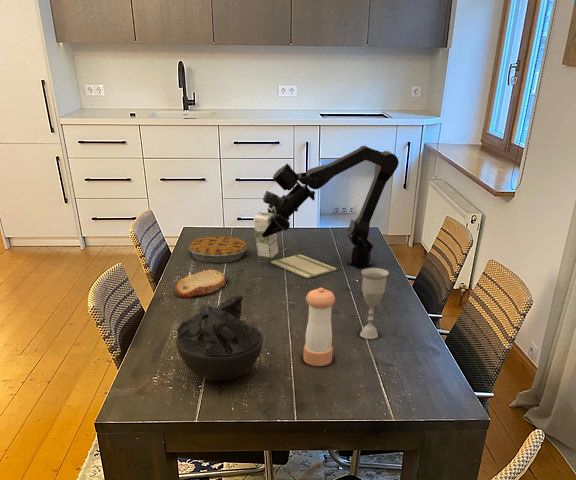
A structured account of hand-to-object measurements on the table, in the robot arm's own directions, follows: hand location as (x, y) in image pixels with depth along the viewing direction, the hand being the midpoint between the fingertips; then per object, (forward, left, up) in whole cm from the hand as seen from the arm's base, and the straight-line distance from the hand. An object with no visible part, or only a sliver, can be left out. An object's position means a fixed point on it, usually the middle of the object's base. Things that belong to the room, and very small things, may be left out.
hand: (261, 233), depth 203 cm
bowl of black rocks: (+56, +57, -12) cm, 81 cm away
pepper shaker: (+32, +65, -12) cm, 73 cm away
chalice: (+11, +63, -12) cm, 65 cm away
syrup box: (-2, +1, -8) cm, 8 cm away
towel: (-12, +9, -12) cm, 19 cm away
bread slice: (+28, +4, -12) cm, 31 cm away
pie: (+5, -20, -12) cm, 24 cm away
